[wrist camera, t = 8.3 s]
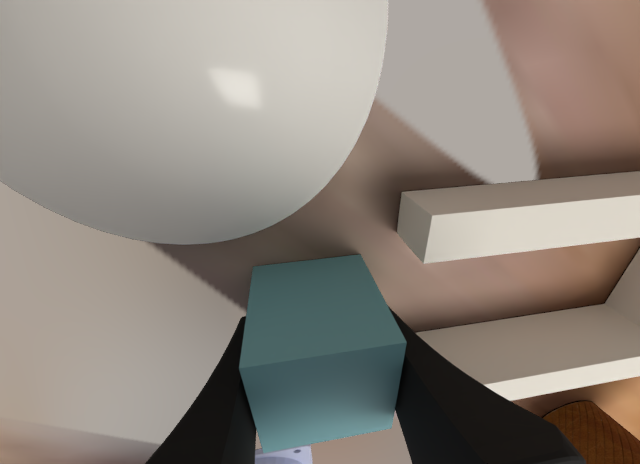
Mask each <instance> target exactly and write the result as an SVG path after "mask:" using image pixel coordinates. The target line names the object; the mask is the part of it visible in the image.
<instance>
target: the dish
mask: <svg viewBox="0 0 640 464" xmlns="http://www.w3.org/2000/svg"><path fill="white" fill-rule="evenodd" d="M387 28H388V0H0V181H1V182H3V183H4V184H6V185H7V186H8V187H10V188H11V189H13V190H14V191H16V192H18V193H20V194H22V195H23V196H25V197H27V198H29V199H31V200H32V201H34V202H36V203H38V204H40V205H41V206H43V207H45V208H47V209H49V210H51V211H54V212H55V213H58V214H60V215H62V216H64V217H66V218H69V219H71V220H73V221H75V222H78V223H81V224H84V225H87V226H89V227H92V228H95V229H98V230H100V231H103V232H106V233H110V234H114V235H118V236H122V237H126V238H130V239H135V240H141V241H147V242H153V243H162V244H179V245H189V244H208V243H215V242H221V241H227V240H232V239H236V238H239V237H243V236H246V235H250V234H253V233H255V232H258V231H260V230H263V229H265V228H268V227H270V226H272V225H274V224H276V223H278V222H279V221H281V220H283V219H285V218H286V217H288V216H290V215H292V214H293V213H294V212H296V211H297V210H298V209H300V208H301V207H302V206H304V205H305V204H306V203H308V202H309V201H310V200H311V199H312V198H313V197H314V196H316V195H317V194H318V193H319V192H320V191H321V190H322V189H323V188H324V187H325V186H326V185H327V184H328V182H329V181H330V180H331V179H332V177H333V176H334V175H335V174H336V173H337V171H338V170H339V169H340V168H341V166H342V165H343V163H344V162H345V160H346V158H347V157H348V155H349V154H350V152H351V150H352V149H353V147H354V146H355V144H356V142H357V140H358V138H359V135H360V133H361V131H362V129H363V127H364V125H365V123H366V121H367V118H368V115H369V112H370V109H371V106H372V103H373V101H374V98H375V95H376V92H377V87H378V83H379V78H380V74H381V69H382V65H383V61H384V53H385V44H386V36H387Z"/></svg>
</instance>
